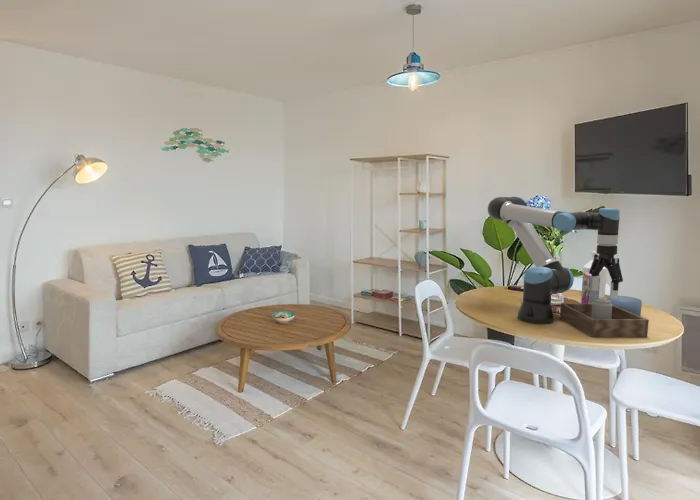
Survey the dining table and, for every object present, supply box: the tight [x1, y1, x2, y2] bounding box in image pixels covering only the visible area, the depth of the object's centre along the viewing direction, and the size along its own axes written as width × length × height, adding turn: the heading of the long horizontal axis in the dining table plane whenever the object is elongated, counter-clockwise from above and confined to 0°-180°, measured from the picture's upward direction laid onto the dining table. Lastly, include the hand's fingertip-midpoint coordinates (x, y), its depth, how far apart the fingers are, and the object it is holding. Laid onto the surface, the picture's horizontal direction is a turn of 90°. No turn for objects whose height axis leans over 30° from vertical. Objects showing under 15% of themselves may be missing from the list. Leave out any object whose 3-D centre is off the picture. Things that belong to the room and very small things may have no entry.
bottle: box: [582, 250, 608, 299], centre depth 247 cm, size 12×12×25 cm
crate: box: [559, 303, 650, 338], centre depth 189 cm, size 22×26×7 cm
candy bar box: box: [580, 272, 600, 304], centre depth 224 cm, size 11×5×16 cm, turn 168°
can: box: [591, 298, 612, 319], centre depth 189 cm, size 8×8×12 cm
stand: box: [606, 295, 643, 317], centre depth 207 cm, size 14×14×8 cm
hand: (603, 294), depth 187 cm, fingers open, 13 cm apart
